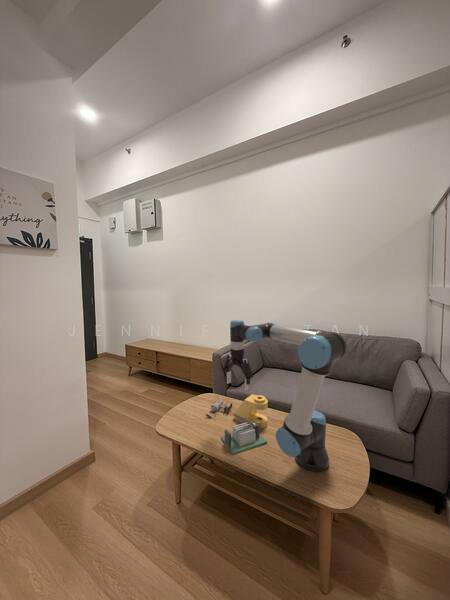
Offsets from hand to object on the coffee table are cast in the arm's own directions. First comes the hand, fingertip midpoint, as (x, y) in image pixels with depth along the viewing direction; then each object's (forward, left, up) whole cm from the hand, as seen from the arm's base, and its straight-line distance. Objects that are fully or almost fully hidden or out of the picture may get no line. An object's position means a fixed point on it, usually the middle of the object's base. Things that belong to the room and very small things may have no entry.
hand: (237, 386), depth 135 cm
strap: (-8, 0, -16) cm, 17 cm away
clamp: (+7, -13, -27) cm, 31 cm away
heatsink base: (-8, 0, -27) cm, 28 cm away
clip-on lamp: (+24, +1, -27) cm, 36 cm away
